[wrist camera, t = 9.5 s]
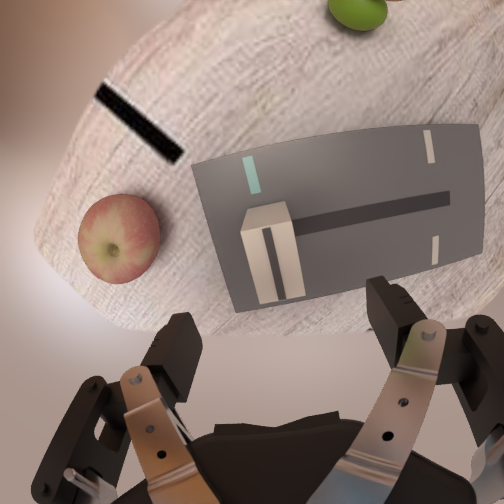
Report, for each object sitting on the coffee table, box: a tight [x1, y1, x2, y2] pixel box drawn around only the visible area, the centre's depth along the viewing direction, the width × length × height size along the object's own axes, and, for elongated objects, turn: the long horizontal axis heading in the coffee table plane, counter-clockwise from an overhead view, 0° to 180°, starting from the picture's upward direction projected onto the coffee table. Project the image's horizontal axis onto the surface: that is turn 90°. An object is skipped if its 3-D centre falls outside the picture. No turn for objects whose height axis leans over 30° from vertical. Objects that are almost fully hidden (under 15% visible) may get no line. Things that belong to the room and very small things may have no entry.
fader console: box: [191, 124, 485, 313], centre depth 23 cm, size 28×14×3 cm, turn 104°
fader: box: [240, 201, 306, 304], centre depth 19 cm, size 3×5×6 cm, turn 14°
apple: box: [78, 194, 160, 284], centre depth 22 cm, size 8×8×8 cm
